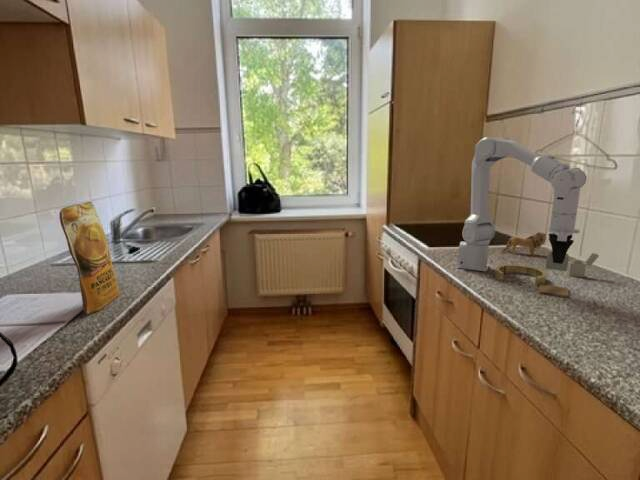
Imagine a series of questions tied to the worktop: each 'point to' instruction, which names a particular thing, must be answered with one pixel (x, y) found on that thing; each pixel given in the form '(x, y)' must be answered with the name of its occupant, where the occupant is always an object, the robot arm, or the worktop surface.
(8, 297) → the worktop surface
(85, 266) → the pancake mix bag
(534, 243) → the lion figurine
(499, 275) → the c ring
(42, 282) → the worktop surface
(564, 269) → the c link
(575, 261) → the lighter
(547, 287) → the coaster
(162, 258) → the worktop surface
